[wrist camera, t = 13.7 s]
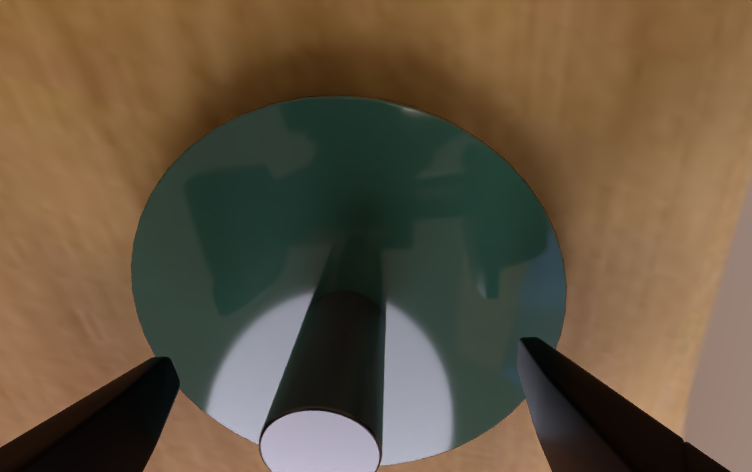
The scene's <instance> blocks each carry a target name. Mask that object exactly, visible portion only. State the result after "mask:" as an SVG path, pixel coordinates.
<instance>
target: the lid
mask: <svg viewBox="0 0 752 472" xmlns="http://www.w3.org/2000/svg"><path fill="white" fill-rule="evenodd" d="M131 275H132V291H133V296H134V301H135V306H136V311H137V315H138V318H139V321H140V323H141V326H142V329H143V332H144V335H145V337H146V339H147V341H148V343H149V345H150V347H151V349H152V351H153V353H154V355H155V357H164V356H166V357H169V358H170V359H171V360H172V362H173V364H174V367H175V369H176V371H177V374H178V376H179V379H180V388H179V389H180V390H181V391H182V392H183V393H184V394H185V395H186V396H187V397H188V398H189V399H190V400H191V401H192V402H193V403H194V404H196V405H197V406H198V407H199V408H200V409H201V410H202V411H204V412H205V413H206V414H208V415H209V416H210V417H212V418H213V419H214V420H216V421H217V422H218V423H220V424H221V425H223V426H225V427H226V428H228V429H229V430H231V431H233V432H234V433H236V434H238V435H239V436H241V437H243V438H245V439H248V440H250V441H252V442H254V443H256V444H258V445H259V451H260V455H261V457H262V460H263V462H264V463H265V465H266V466H267V467H268V469H269V470H270V471H271V472H376V471H377V470H378V468H379V466H382V465H393V464H399V463H406V462H412V461H416V460H420V459H424V458H428V457H431V456H435V455H438V454H441V453H443V452H446V451H449V450H451V449H454V448H457V447H459V446H461V445H463V444H465V443H467V442H469V441H471V440H473V439H475V438H477V437H478V436H480V435H481V434H483V433H485V432H486V431H488V430H489V429H491V428H493V427H494V426H495V425H497V424H498V423H499V422H500V421H502V420H503V419H504V418H505V417H507V416H508V415H509V414H510V413H512V412H513V411H514V410H515V409H516V408H517V407H518V406H519V405H520V403H521V402H522V401H523V400H524V399H525V398H526V397H525V394H524V391H523V387H522V384H521V381H520V377H519V374H518V369H517V356H518V342H519V339H520V338H522V337H538V338H540V339H541V340H543V341H544V342H546V343H547V344H548V345H550V346H551V347H553V348H554V349H556V347H557V344H558V341H559V339H560V336H561V331H562V326H563V322H564V317H565V312H566V289H567V285H566V277H565V268H564V260H563V256H562V253H561V250H560V246H559V243H558V239H557V236H556V233H555V231H554V228H553V226H552V224H551V222H550V220H549V218H548V216H547V214H546V212H545V209H544V207H543V206H542V204H541V203H540V202H539V200H538V199H537V197H536V196H535V194H534V193H533V191H532V190H531V188H530V187H529V185H528V184H527V183H526V181H525V180H524V179H523V178H522V177H521V176H520V175H519V174H518V173H517V172H516V171H515V170H514V169H513V168H512V166H511V165H510V164H509V163H508V162H507V161H506V160H505V159H504V158H503V157H501V156H500V155H499V154H498V153H496V152H495V151H494V150H492V149H491V148H490V147H489V146H487V145H486V144H485V143H484V142H482V141H481V140H480V139H479V138H477V137H475V136H474V135H472V134H470V133H468V132H467V131H465V130H463V129H462V128H460V127H458V126H456V125H455V124H453V123H451V122H449V121H448V120H446V119H443V118H441V117H438V116H436V115H433V114H431V113H429V112H426V111H424V110H421V109H419V108H416V107H413V106H409V105H405V104H401V103H397V102H393V101H389V100H385V99H381V98H371V97H361V96H351V95H332V96H310V97H304V98H299V99H293V100H288V101H283V102H277V103H273V104H270V105H267V106H264V107H261V108H258V109H255V110H252V111H249V112H246V113H244V114H241V115H239V116H237V117H235V118H233V119H231V120H230V121H228V122H226V123H224V124H222V125H220V126H218V127H216V128H214V129H213V130H211V131H210V132H209V133H207V134H206V135H205V136H203V137H202V138H201V139H199V140H198V141H196V142H195V143H194V144H192V145H191V146H190V147H188V148H187V149H186V151H185V152H184V153H183V154H182V155H181V156H180V157H179V158H178V159H177V160H176V161H175V162H174V163H173V164H172V165H171V166H170V167H169V168H168V169H167V171H166V172H165V174H164V175H163V177H162V178H161V179H160V181H159V182H158V184H157V185H156V187H155V188H154V190H153V191H152V193H151V195H150V197H149V199H148V202H147V204H146V206H145V208H144V210H143V212H142V215H141V217H140V220H139V224H138V228H137V231H136V235H135V238H134V243H133V252H132V262H131Z"/></svg>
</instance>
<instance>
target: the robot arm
mask: <svg viewBox="0 0 752 472" xmlns="http://www.w3.org/2000/svg"><path fill="white" fill-rule="evenodd" d="M517 369H518V374H519V377H520V381H521V384H522V387H523V391H524V394H525V397H526V401H527V404H528V407H529V411H530V414H531V417H532V421H533V424H534V427H535V430H536V433H537V436H538V439H539V441H540V444H541V446H542V449H543V451H544V454H545V456H546V458H547V461H548V463H549V465H550V468H551V470H552V472H730V471H729V470H727V469H726V468H725V467H723V466H721V465H720V464H718V463H717V462H716V461H714V460H713V459H711V458H710V457H708V456H707V455H705V454H704V453H703V452H701V451H700V450H698V449H697V448H695V447H694V446H693V445H691V444H690V443H688V442H684V441H683V439H682V438H681V437H680V436H678V435H677V434H675V433H674V432H672V431H671V430H670V429H668V428H667V427H665V426H664V425H662V424H661V423H660V422H658V421H657V420H655V419H654V418H653V417H651V416H650V415H648V414H647V413H645V412H644V411H643V410H641V409H640V408H638V407H637V406H635V405H634V404H633V403H631V402H630V401H628V400H627V399H625V398H624V397H623V396H621V395H620V394H618V393H617V392H615V391H614V390H613V389H611V388H610V387H608V386H607V385H605V384H604V383H603V382H601V381H600V380H598V379H597V378H595V377H594V376H593V375H591V374H590V373H588V372H587V371H585V370H584V369H583V368H581V367H580V366H578V365H577V364H575V363H574V362H573V361H571V360H570V359H568V358H567V357H565V356H564V355H563V354H561V353H560V352H558V351H557V350H556V349H554V348H553V347H551V346H550V345H548V344H547V343H546V342H544V341H543V340H541V339H540V338H538V337H522V338H520V339H519V342H518V356H517ZM179 388H180V379H179V376H178V374H177V371H176V369H175V367H174V364H173V362H172V360H171V359H170V358H169V357H166V356H164V357H153V358H150V359H149V360H147V361H145V362H144V363H142V364H140V365H138V366H137V367H135V368H133V369H132V370H130V371H128V372H127V373H125V374H123V375H122V376H120V377H118V378H117V379H115V380H113V381H112V382H110V383H108V384H107V385H105V386H103V387H101V388H100V389H98V390H96V391H95V392H93V393H91V394H90V395H88V396H86V397H85V398H83V399H81V400H80V401H78V402H76V403H75V404H73V405H71V406H70V407H68V408H66V409H64V410H63V411H61V412H59V413H58V414H56V415H54V416H53V417H51V418H49V419H48V420H46V421H44V422H43V423H41V424H39V425H38V426H36V427H34V428H33V429H31V430H29V431H27V432H26V433H24V434H22V435H21V436H19V437H17V438H16V439H14V440H12V441H11V442H9V443H7V444H6V445H4V446H2V447H1V448H0V472H143V470H144V468H145V466H146V464H147V462H148V460H149V459H150V457H151V455H152V452H153V450H154V448H155V446H156V444H157V442H158V439H159V437H160V435H161V432H162V430H163V427H164V425H165V423H166V420H167V418H168V415H169V413H170V411H171V408H172V406H173V403H174V401H175V398H176V396H177V394H178V391H179Z"/></svg>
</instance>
